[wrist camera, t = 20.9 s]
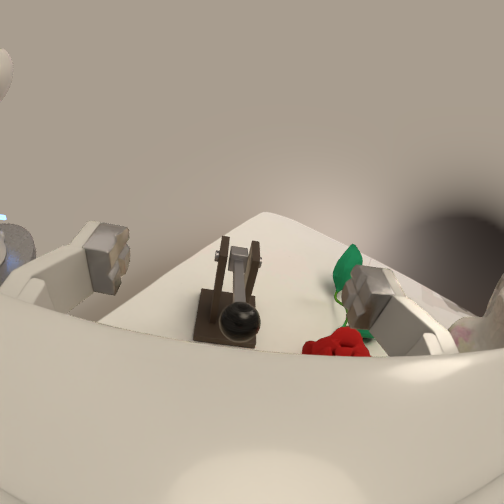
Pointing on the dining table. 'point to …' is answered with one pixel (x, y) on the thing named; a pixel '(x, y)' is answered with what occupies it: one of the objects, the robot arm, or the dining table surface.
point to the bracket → (224, 298)
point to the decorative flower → (344, 337)
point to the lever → (239, 303)
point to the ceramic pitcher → (482, 326)
